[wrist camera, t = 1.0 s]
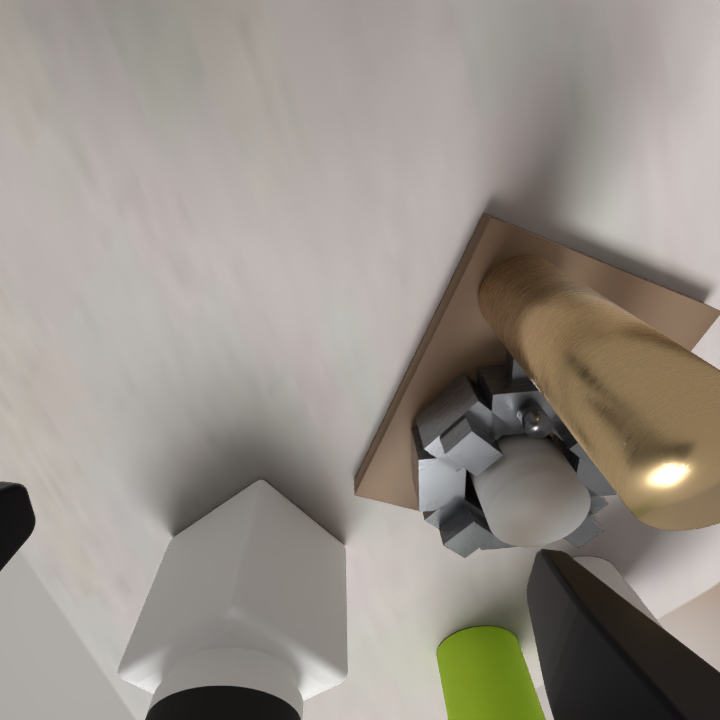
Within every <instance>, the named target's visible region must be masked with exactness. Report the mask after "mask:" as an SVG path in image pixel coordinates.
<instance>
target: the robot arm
mask: <svg viewBox="0 0 720 720" xmlns="http://www.w3.org/2000/svg"><path fill="white" fill-rule="evenodd" d="M35 521H36V519H35V515H34V512H33V508H32V505H31V502H30V498H29V495H28V492H27V489H26V488H25V487H24V485H21V484H19V483H11V482H0V571H1V570H2V569H3V567H4V566H5V565H6V564H7V563H8V561H9V560H10V559H11V558H12V557H13V555H14V554H15V553H16V552H17V551H18V550H19V548H20V547H21V546H22V545H23V544H24V543H25V541H26V540H27V539H28V538H29V536H30V535H31V534H32V532H33V530H34V527H35ZM527 601H528V607H529V612H530V617H531V622H532V627H533V631H534V636H535V641H536V646H537V651H538V656H539V661H540V666H541V671H542V676H543V680H544V685H545V689H546V693H547V697H548V700H549V704H550V708H551V711H552V714H553V717H554V720H720V672H718V671H717V670H716V669H715V668H713V667H712V666H711V665H709V664H708V663H707V662H706V661H704V660H703V659H702V658H700V657H699V656H698V655H697V654H695V653H694V652H693V651H691V650H690V649H689V648H688V647H686V646H685V645H684V644H682V643H681V642H680V641H679V640H677V639H676V638H675V637H673V636H672V635H671V634H670V633H668V632H667V631H666V630H664V629H663V628H662V627H661V626H659V625H658V624H657V623H655V622H654V621H653V620H652V619H650V618H649V617H648V616H646V615H645V614H644V613H643V612H641V611H640V610H639V609H637V608H636V607H635V606H634V605H632V604H631V603H630V602H628V601H627V600H626V599H625V598H623V597H622V596H621V595H619V594H618V593H617V592H615V591H614V590H613V589H612V588H610V587H609V586H608V585H606V584H605V583H604V582H603V581H601V580H600V579H599V578H597V577H596V576H595V575H594V574H592V573H591V572H590V571H588V570H587V569H586V568H585V567H583V566H582V565H581V564H579V563H578V562H577V561H576V560H574V559H573V558H572V557H570V556H569V555H568V554H566V553H564V552H562V551H555V550H547V549H541V550H539V551H538V552H537V554H536V557H535V560H534V564H533V567H532V571H531V574H530V577H529V581H528V585H527Z"/></svg>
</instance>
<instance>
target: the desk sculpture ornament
mask: <svg viewBox="0 0 720 720" xmlns="http://www.w3.org/2000/svg"><path fill="white" fill-rule="evenodd" d="M478 303H479V309H480V312H481V314H482V316H483V318H484V319H485V321H486V322H487V323H488V325H489V326H490V327H491V329H492V330H493V331H494V333H495V334H496V335H497V336H498V338H499V339H500V340H501V342H502V343H503V344H504V346H505V347H506V348H507V351H506V362H505V365H493V366H482V367H477V376H476V382H475V381H474V380H472V379H471V378H470V377H469V376H467V375H466V374H465V373H463V374H462V375H461V376H460V377H459V378H458V379H457V380H456V381H454V382H453V383H452V384H451V385H450V386H449V387H448V388H447V389H446V390H445V391H444V392H443V393H441V394H440V395H439V396H438V397H437V398H436V399H435V400H434V401H433V402H432V403H431V404H430V405H428V406H427V407H426V408H425V409H424V410H423V411H422V412H421V413H420V414H419V415H418V416H417V417H416V421H417V425H418V427H413V428H411V454H412V479H413V484H414V488H415V493H416V498H417V503H418V507H419V512H423V515H424V520H425V521H427V522H428V523H430V524H432V525H433V526H435V527H437V528H438V529H439V530H440V534H441V538H442V542H443V545H444V546H446V547H447V548H449V549H451V550H452V551H454V552H456V553H457V554H459V555H461V556H462V557H464V558H466V557H467V556H469V555H470V554H471V553H473V552H474V551H475V550H477V549H478V548H479V547H480V549H481V550H486V549H497V548H509V547H518V546H513V545H510V544H507V543H504V542H502V541H501V540H499V539H498V538H497V537H496V536H495V535H494V534H493V533H492V531H491V530H490V527H489V525H488V522H487V519H486V517H485V514H484V512H483V509H482V506H481V504H480V501H479V498H478V496H477V493H476V490H475V488H474V485H473V482H472V480H471V478H470V477H469V476H467V475H466V470H468V471H469V472H471V473H472V474H473V475H475V476H476V477H477V476H478V475H479V474H480V473H482V472H483V471H484V470H485V469H487V468H488V467H489V466H490V465H492V464H493V463H494V462H495V461H497V460H498V459H499V458H500V457H502V456H503V453H502V451H501V449H500V447H499V445H498V443H497V441H496V440H497V439H499V438H500V437H501V436H502V435H512V434H523V433H527V435H528V436H529V437H531V438H533V439H541V438H544V437H546V436H547V435H549V434H550V433H551V431H552V432H553V433H554V434H555V440H554V442H555V443H556V445H557V446H558V447H559V449H560V450H561V452H562V453H563V455H564V456H565V458H566V459H567V461H568V462H569V463H570V465H571V466H572V468H573V469H574V471H575V472H576V474H577V475H578V477H579V478H580V479H581V481H582V482H583V484H584V485H585V487H586V488H587V490H588V492H589V494H590V499H591V502H590V509H589V512H588V514H587V516H586V518H585V519H584V521H583V522H582V523H581V525H580V526H579V527H578V528H577V529H575V530H574V531H573V532H572V533H570V534H569V535H567V536H566V537H564V538H565V539H566V540H567V541H569V542H570V543H572V544H573V545H575V546H576V547H577V548H579V547H581V546H582V545H584V544H585V543H587V542H588V541H590V540H591V539H593V538H594V537H596V536H597V535H599V534H600V533H602V532H603V531H604V529H603V528H602V526H601V525H600V523H599V522H598V520H597V519H596V517H595V516H594V513H596V512H597V511H599V510H600V509H602V508H603V507H605V506H606V505H608V502H607V501H606V500H605V498H604V497H603V496H604V495H616V493H617V494H618V496H619V497H620V498H621V499H622V501H623V502H624V503H625V505H626V506H627V507H628V509H629V510H630V511H631V513H632V514H633V515H634V516H635V517H636V518H637V519H638V520H640V521H641V522H643V523H645V524H647V525H649V526H651V527H655V528H658V529H664V530H675V531H680V530H692V529H699V528H703V527H708V526H711V525H715V524H718V523H720V370H719V369H717V368H715V367H714V366H712V365H711V364H709V363H708V362H706V361H704V360H703V359H701V358H700V357H698V356H697V355H695V354H693V353H692V352H690V351H689V350H687V349H686V348H684V347H682V346H681V345H679V344H678V343H676V342H675V341H673V340H671V339H670V338H668V337H667V336H665V335H664V334H662V333H660V332H659V331H657V330H656V329H654V328H653V327H651V326H649V325H648V324H646V323H645V322H643V321H642V320H640V319H638V318H637V317H635V316H634V315H632V314H631V313H629V312H627V311H626V310H624V309H623V308H621V307H620V306H618V305H616V304H615V303H613V302H612V301H610V300H609V299H607V298H605V297H604V296H602V295H601V294H599V293H598V292H596V291H594V290H593V289H591V288H590V287H588V286H587V285H585V284H583V283H582V282H580V281H579V280H577V279H576V278H574V277H572V276H571V275H569V274H568V273H566V272H565V271H563V270H561V269H560V268H558V267H557V266H555V265H554V264H552V263H550V262H549V261H547V260H546V259H544V258H542V257H540V256H536V255H530V254H522V255H517V256H513V257H510V258H508V259H506V260H504V261H502V262H501V263H499V264H498V265H496V266H495V267H494V268H493V269H492V270H491V271H490V272H489V273H488V275H487V276H486V278H485V279H484V281H483V283H482V285H481V288H480V292H479V298H478Z"/></svg>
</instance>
